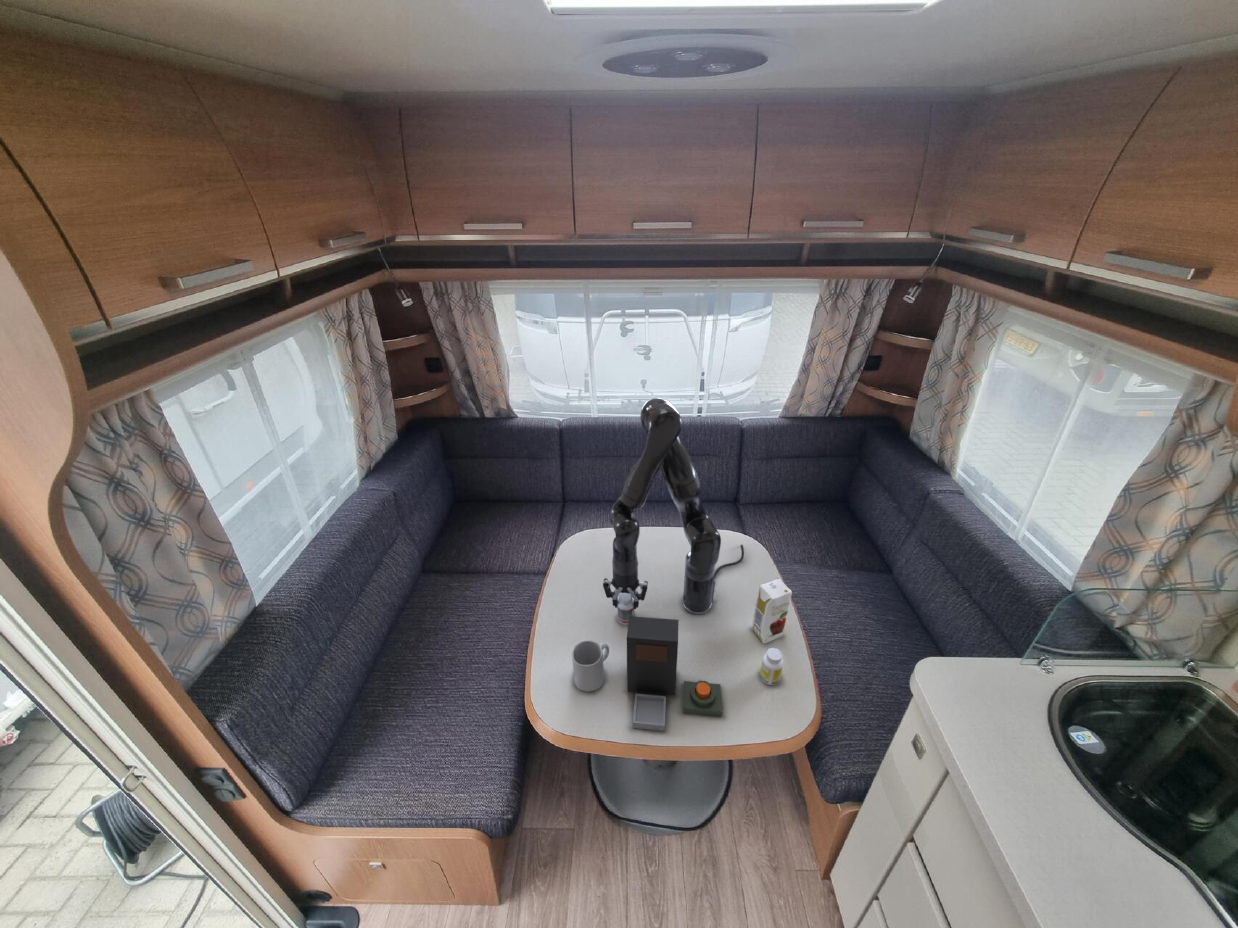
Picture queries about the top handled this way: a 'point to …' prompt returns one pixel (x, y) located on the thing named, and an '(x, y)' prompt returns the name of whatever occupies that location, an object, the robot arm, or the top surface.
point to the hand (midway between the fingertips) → (625, 606)
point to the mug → (589, 664)
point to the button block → (700, 705)
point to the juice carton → (771, 610)
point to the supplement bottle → (771, 666)
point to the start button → (703, 690)
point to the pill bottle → (625, 608)
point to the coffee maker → (651, 668)
